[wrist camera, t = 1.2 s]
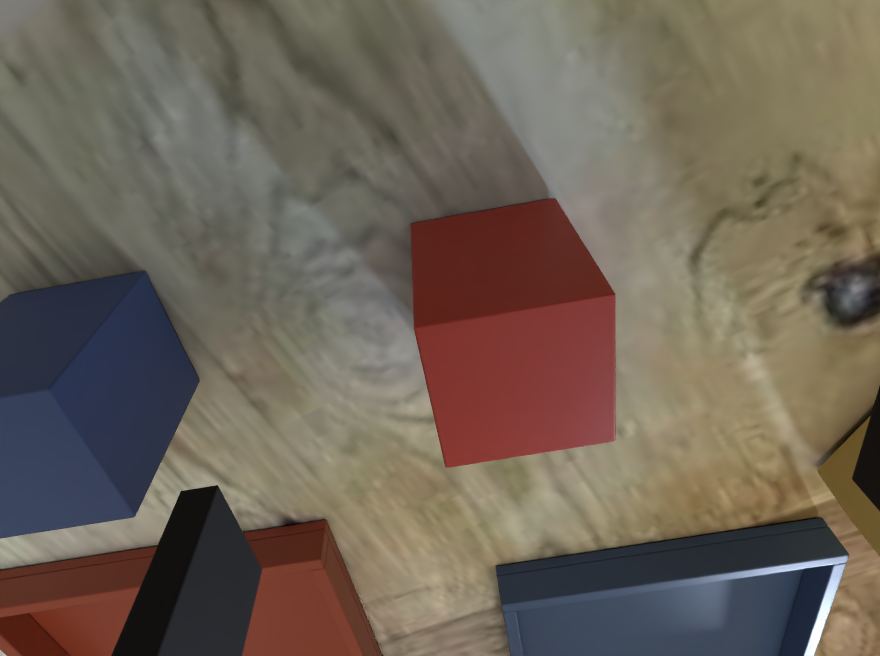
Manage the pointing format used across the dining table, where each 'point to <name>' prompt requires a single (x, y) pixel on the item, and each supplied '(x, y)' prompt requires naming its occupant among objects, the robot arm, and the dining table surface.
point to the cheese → (852, 487)
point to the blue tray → (679, 596)
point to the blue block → (85, 401)
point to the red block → (513, 333)
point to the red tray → (121, 574)
